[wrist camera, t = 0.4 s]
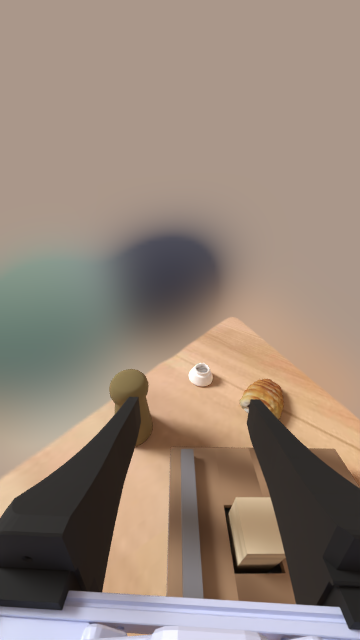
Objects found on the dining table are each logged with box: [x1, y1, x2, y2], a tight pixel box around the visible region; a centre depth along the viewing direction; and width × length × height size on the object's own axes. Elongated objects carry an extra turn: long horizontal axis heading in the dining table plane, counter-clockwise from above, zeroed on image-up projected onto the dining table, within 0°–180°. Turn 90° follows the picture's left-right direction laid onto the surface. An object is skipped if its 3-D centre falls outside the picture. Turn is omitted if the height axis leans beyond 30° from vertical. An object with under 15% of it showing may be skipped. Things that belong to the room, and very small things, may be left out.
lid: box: [167, 447, 360, 604], centre depth 19 cm, size 16×22×2 cm
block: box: [226, 497, 286, 574], centre depth 19 cm, size 4×4×7 cm
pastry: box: [240, 379, 284, 419], centre depth 36 cm, size 9×7×4 cm
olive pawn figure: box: [109, 369, 153, 446], centre depth 29 cm, size 6×6×11 cm
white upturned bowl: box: [189, 363, 213, 386], centre depth 41 cm, size 5×3×5 cm
